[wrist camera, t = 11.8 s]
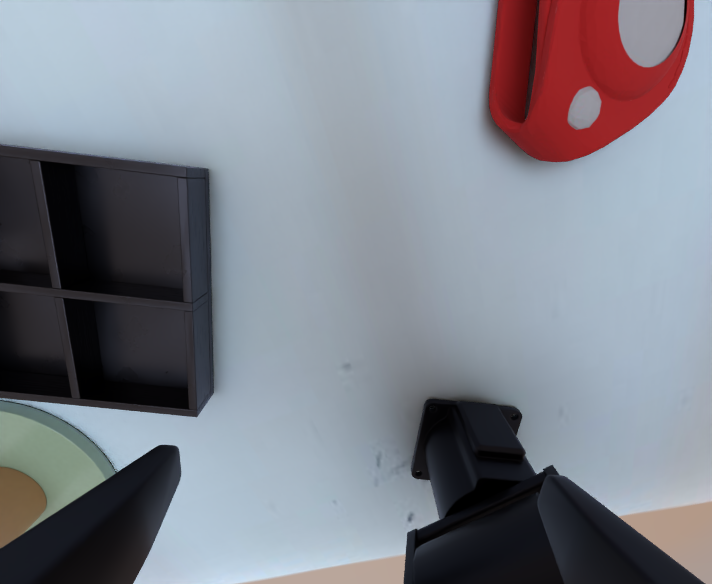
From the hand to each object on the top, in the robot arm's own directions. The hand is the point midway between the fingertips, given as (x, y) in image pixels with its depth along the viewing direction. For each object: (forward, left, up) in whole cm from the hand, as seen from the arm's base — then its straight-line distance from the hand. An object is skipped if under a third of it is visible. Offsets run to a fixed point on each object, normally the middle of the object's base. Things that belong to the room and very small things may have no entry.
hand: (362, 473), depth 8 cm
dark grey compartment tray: (-1, +20, -13) cm, 24 cm away
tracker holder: (+15, -8, -13) cm, 22 cm away
